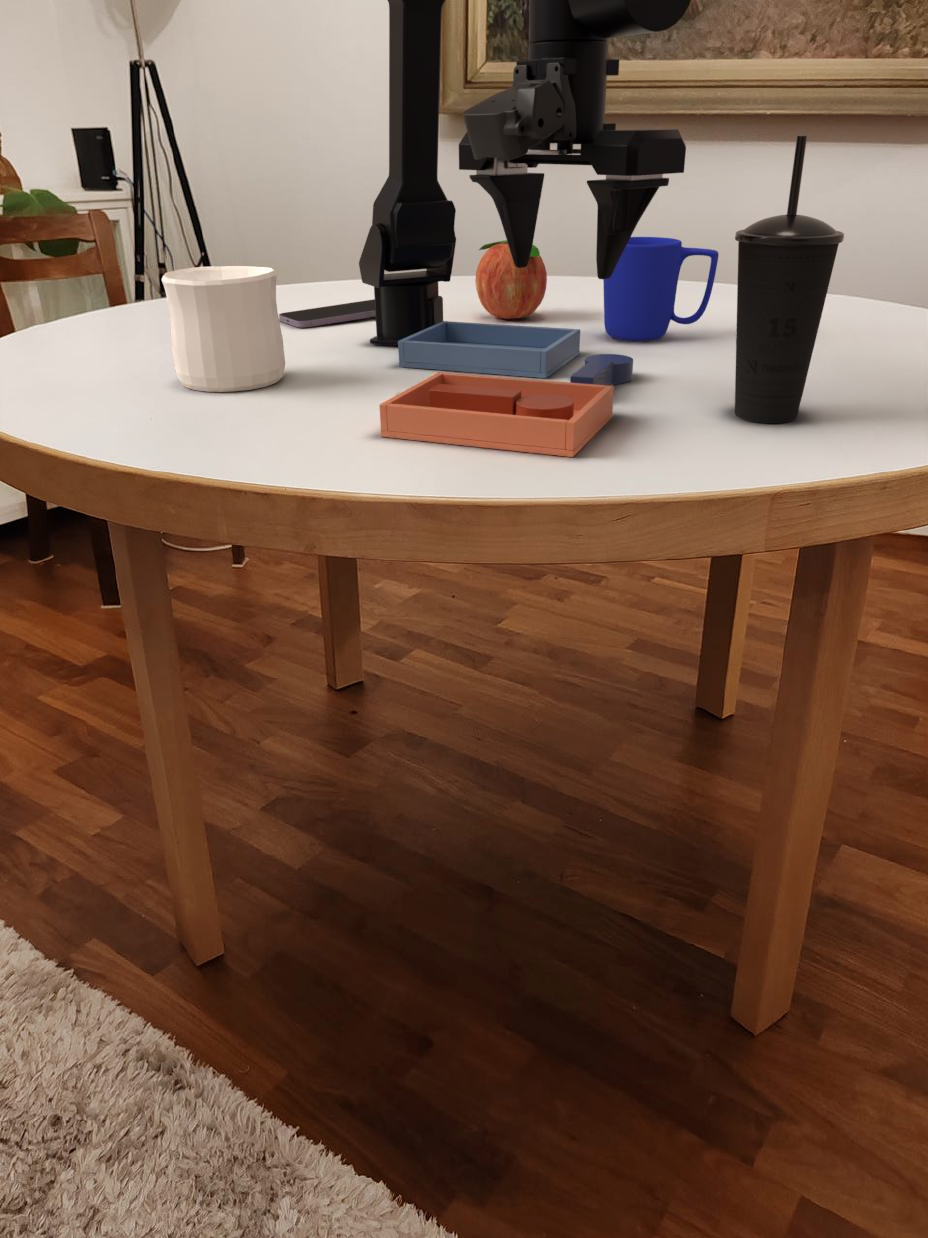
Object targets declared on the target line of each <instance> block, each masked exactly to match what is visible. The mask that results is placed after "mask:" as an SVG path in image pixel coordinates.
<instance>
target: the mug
mask: <svg viewBox="0 0 928 1238" xmlns="http://www.w3.org/2000/svg"><path fill="white" fill-rule="evenodd" d="M682 244H683V243H682V240H680V239H677V238H671V237H660V236H631V237H630V239H629V241H628V243H627V245H626V247H625V249H624V251H623V253H622V255H621V257H620V259H619V261H618V263H617V265H616V267H615V269H614V271H613V273H612V275H611V277H610V278H608V279H602V280H603V322H604V324H603V325H604V330H605V333H606V334H607V335H608V336H609V338H610V339H613V340H617V341H623V342H633V343H642V342H643V343H644V342H651V341H657V340H660V339H662V338H663V337H664V336H665V335H666V333H667V331H668V329H669V325H670V323H671V321H672V322H674V323H676V324H680V325H691V324H694V323H695V322H698V320H700V319H701V317H703V315H704V313H705V311H706V309H707V307H708V304H709V301H710V298H711V295H712V291H713V288H714V287H713V286H714V283H715V279H716V274H717V267H718V263H719V262H718V261H719V251H718V250H715V249H711V248H700V247H685V246H683V245H682ZM693 256H704V257H705V256H706V257H709V258H710V265H709V271H708V278H707V282H706V287H705V291H704V294H703V297H702V299H701V300H702V301H701V303H700V305H699V307H698V309H697V310H696V312H695V313H693V314H692V315H690V316H687V317H680V316H678V315H676V313H675V304H676V297H677V296H676V295H677V290H678V282H679V277H680V272H681V268H682V265H683V263H684V261H685V260H686V259H687V258H688V257H693Z"/></svg>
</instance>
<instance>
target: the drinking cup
mask: <svg viewBox="0 0 928 1238" xmlns="http://www.w3.org/2000/svg"><path fill="white" fill-rule="evenodd" d="M807 139H808V135H797V136H796V141H795V149H794V156H793V164H792V173H791V180H790V186H789V187H790V188H789V194H788V203H787V209H786V210H787V211H786V214H780V215H774V216H770V217H767V218H763V219H760V220H757V221H756V222H754V223H752V224H750V225H748V226H747V227H746V228H744V229H740V230H737V231H736V232H735V236H734V240H735V241H737V242H738V243H737V244H738V245H737V246H738V247H737V248H738V250H737V288H736V289H737V294H736V295H737V296H736V331H735V332H736V335H735V339H736V340H735V378H734V379H735V383H734V415H735V416H736V417H737V418H739V419H741V420H744V421H748V422H752V423H759V424H783V423H789V422H793V421H795V420H796V419H797V418H798V415H799V410H800V407H801V402H802V398H803V394H804V389H805V387H806V381H807V377H808V373H809V370H810V366H811V362H812V356H813V352H814V349H815V344H816V340H817V336H818V333H819V328H820V323H821V319H822V315H823V311H824V306H825V303H826V298H827V295H828V290H829V286H830V282H831V278H832V274H833V270H834V265H835V262H836V257H837V253H838V249H839V244H841V243H843V241H844V239H845V234H844V232H842V231H840V230H837V229H836V228H834V227H832V226H831V225H829V224H828V223H826V222H824V220H821V219H818V218H814V217H812V216H808V215H802V214H798V206H799V198H800V191H801V184H802V177H803V170H804V163H805V155H806V149H807Z"/></svg>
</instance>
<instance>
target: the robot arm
mask: <svg viewBox="0 0 928 1238" xmlns="http://www.w3.org/2000/svg"><path fill="white" fill-rule="evenodd" d="M446 1H447V0H387V2H388V13H389V15H388V17H389V19H388V23H389V24H388V28H389V29H388V31H389V32H388V33H389V34H388V40H389V41H388V47H389V48H388V68H389V69H388V96H389V97H388V140H389V141H388V177H387V178H386V180H385V182H384V183H383V186H382V187H381V189H380V191H379V193H378V195H377V196H376V198H375V199H374V201H373V205H372V220H371V221H372V222H371V226H370V227H369V230H368V233H367V237H366V240H365V243H364V246H363V249H362V252H361V254H360V256H359V257H360V258H359V261H358V267H359V272H360V278H361V283H363V284H365V285H369V286H371V287H373V295H374V299H375V314H376V316H375V330H376V336H374V337H372V338H370V339H369V344H371V345H382V346H397V347H398V341H399V340H402V339H404V338H406V337H408V336H411V335H413V334H415V333H418V332H420V331H422V330H424V329H427V328H429V327H431V326H433V325H436V324H438V323H440V322H442V321H444V298H443V296H441V295H439V282H444V283H449V282H451V278H452V272H453V265H454V258H455V253H456V251H455V250H456V245H457V237H456V231H455V220H456V211H457V209H456V206H455V204H454V201H453V200H449V199H448V198H447V195H446V194H445V192H444V190H443V188H442V186H441V184H440V182H439V179H438V177H439V176H438V171H439V169H438V167H439V166H438V165H439V131H440V130H439V129H440V97H441V96H440V95H441V94H440V93H441V61H442V60H441V59H442V58H441V57H442V23H443V16H442V15H443V7H444V5H445V3H446ZM691 1H692V0H529V4H528V5H529V6H528V7H529V11H528V12H529V13H528V14H529V15H528V59H525V60H524V59H523V60H516V65H515V66H514V68H513V71H512V73H513V77H512V79H513V82H512V86H510V87H509V88H506V89H504V90H501V91H499V92H496V93H495V94H493V95H490V96H489V97H487V98H485V99H484V100H482V101H480V102H478V103H476V104H474V105H473V106H471V107H469V108H467V109H466V110H464V111H463V112H462V116H463V120H464V125H465V128H466V132H465V134H464V136H463V137H462V139H461V140H460V141H459V143H458V170H460V171H476V172H475V173H476V174H469V179H470V180H471V182H472V183H477V184H478V185H479V186H480V187H481V188H482V189H483V190H484V191H485V192H486V193H487V194H488V195H489V196H490V197H491V198H492V201H493V203H494V205H495V208H496V211H497V213H498V216H499V219H500V222H501V225H502V230H503V232H504V235H505V238H506V240H507V242H508V245H509V249H510V252H511V255H512V258H513V262H514V265H515V267H517V268H523V267H527V265H528V261H529V257H530V254H531V250H532V245H534V238H535V233H536V227H537V221H538V214H539V209H540V204H541V197H542V192H543V185H544V181H545V172H528V168H529V169H533V168H534V169H536V168H537V167H539V165H564V166H566V165H567V166H569V165H570V166H591V167H592V168H593V170H594V172H595V173H596V175H597V176H605V178H604V179H590V180H586V184H587V186H588V189H589V191H590V193H591V194H592V196H593V198H594V200H595V202H596V206H597V215H596V217H597V218H596V252H595V253H596V254H595V255H596V256H595V257H596V259H595V260H596V274H597V275H596V276H597V278H598V280H603V279H608V278H610V277H611V275H612V273H613V271H614V269H615V267H616V265H617V263H618V261H619V259H620V257H621V255H622V253H623V251H624V249H625V247H626V245H627V243H628V241H629V239H630V237H632V235H633V233H634V231H635V229H636V227H637V225H638V223H639V222H640V220H641V218H642V217H643V215H644V213H645V212H646V210H647V209H648V207H649V205H650V203H651V202H652V201H653V198H654V197H655V196H656V193H657V192H658V190H659V189H660V187H668V186H669V183H670V177H664V175H670V174H684V173H685V164H686V154H687V153H686V152H687V146H686V142H685V141H684V138H683V137H682V134H681V133H680V131H679V129H677V128H676V129H617V128H616V127H617V125H616V124H617V123H612V122H610V123H608V122H607V123H605V122H606V121H605V120H606V101H607V82H608V81H607V80H608V79H607V78H608V77H613V76H619V74H620V59H619V58H618V59H617V58H616V59H615V58H609V42H610V41H609V39H613V38H622V37H629V36H637V35H644V34H651V33H658V32H659V33H660V32H662V31H667V30H669V29H670V28H672V27H673V26H675V25H676V24H677V23H678V22H679V21H680V20H681V19H682V18H683V17H684V15H685V13H686V12H687V10H688V9H689V7H690V5H691ZM551 144H556V149H551ZM574 145H580V148H574ZM385 272H388V273H385ZM392 272H393V273H392Z"/></svg>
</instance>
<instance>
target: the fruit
mask: <svg viewBox="0 0 928 1238" xmlns="http://www.w3.org/2000/svg"><path fill="white" fill-rule="evenodd" d="M484 250H486V251H485V252H484V254H483V255H482V256H481V258H480V260H479V263H478V264H477V267H476V272H475V279H474V280H475V288H476V293H477V296H478V299H479V301H480V304H481V306H482V307H483V308H484V309H485V311H486V312H487V313H489V314H490V315H491V316H493V317H495V318H500V319H506V320H507V319H508V320H511V319H524V318H527V317H529V316H531V315H532V314H534V312H536V310H537V309H538V308H539V306H540V305H541V304H542V302H543V300H544V298H545V294H546V291H547V285H548V284H547V282H548V275H547V274H548V273H547V269H546V264H545V263H544V260H543V258H542V256H541V253H540V249H539V248H538V247H537V246H536V245H534V244H533V245H532V250H531V254H530V257H529V261H528V265H527V267H523V268H517V267H515V265H514V262H513V258H512V255H511V252H510V249H509V245H508V242H507V239H506V240H499V241H493V242H490V243H486V244H484V245H482V246H481V247H480V248H479V249H478V251H484Z"/></svg>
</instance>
